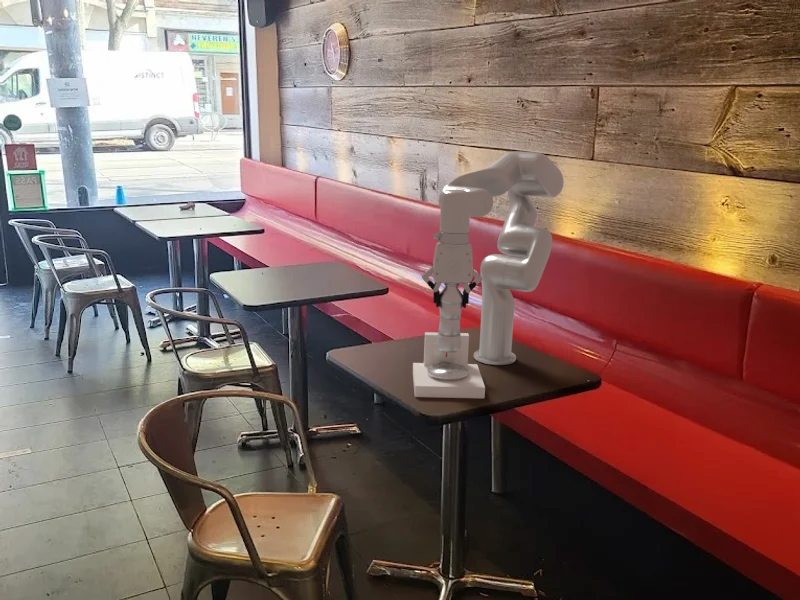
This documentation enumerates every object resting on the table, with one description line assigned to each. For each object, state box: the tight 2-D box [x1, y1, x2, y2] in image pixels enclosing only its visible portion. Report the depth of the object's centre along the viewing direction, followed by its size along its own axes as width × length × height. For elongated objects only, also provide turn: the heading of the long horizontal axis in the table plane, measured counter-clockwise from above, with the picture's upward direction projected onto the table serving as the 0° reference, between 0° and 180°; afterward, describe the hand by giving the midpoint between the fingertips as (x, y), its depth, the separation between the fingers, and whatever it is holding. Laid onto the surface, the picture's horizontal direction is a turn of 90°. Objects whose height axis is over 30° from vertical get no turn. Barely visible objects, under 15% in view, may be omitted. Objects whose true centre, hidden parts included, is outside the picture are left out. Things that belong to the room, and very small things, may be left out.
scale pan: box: [427, 363, 468, 380], centre depth 201 cm, size 11×11×1 cm
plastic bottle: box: [436, 283, 463, 353], centre depth 197 cm, size 6×7×20 cm
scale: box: [412, 331, 486, 399], centre depth 201 cm, size 18×18×12 cm
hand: (450, 305), depth 196 cm, fingers closed on plastic bottle, 6 cm apart
